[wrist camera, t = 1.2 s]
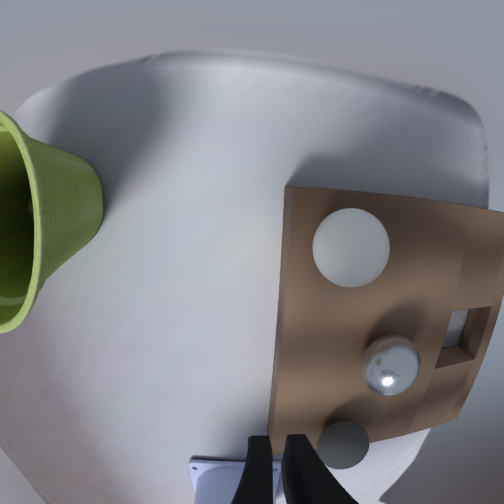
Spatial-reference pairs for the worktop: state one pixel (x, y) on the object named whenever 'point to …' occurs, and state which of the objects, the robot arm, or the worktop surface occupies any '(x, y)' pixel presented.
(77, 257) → the worktop surface
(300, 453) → the robot arm
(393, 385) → the steel ball
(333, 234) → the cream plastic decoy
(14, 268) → the plant pot
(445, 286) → the board
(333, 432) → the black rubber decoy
